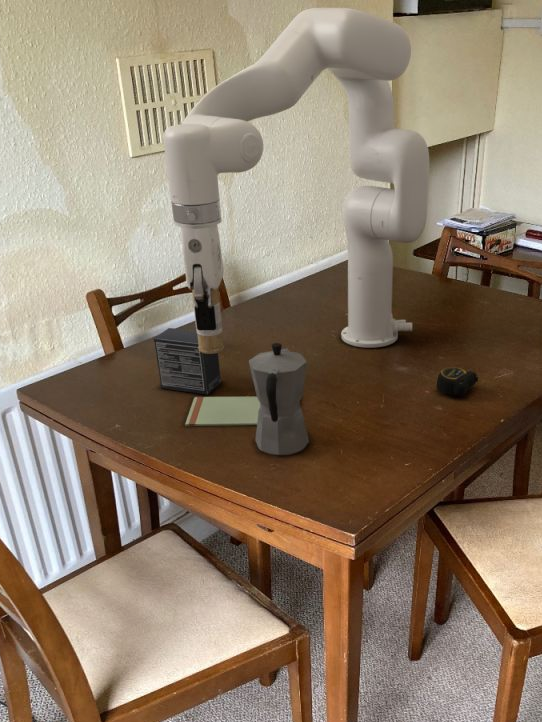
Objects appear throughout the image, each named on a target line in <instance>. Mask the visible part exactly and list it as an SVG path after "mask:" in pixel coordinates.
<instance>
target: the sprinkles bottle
mask: <svg viewBox="0 0 542 722" xmlns="http://www.w3.org/2000/svg"><path fill="white" fill-rule="evenodd" d="M192 282H193V279H192ZM203 288H208V285H207V284H203ZM191 292H192V300H193V303H192V305H193V312H194V323H196V316H195V308H194V307H195V305H194V292H193V290H191ZM203 293H204V295H206V296H207V292H203ZM211 295H212V306H214V309H215V319H216V329H215V330H197V325H196V324H195V329H196V330H195V331H197V336H198V344H199V346H198V349H199V351H200V352H202V353H206V354H214V353H218V354H219V353H221V352H222V351H224V349H225V345H224V338H223V337H224V336H223V321H222V312H221V302H220V297H219V287H218V288H217V289H216V290H214V289H213V288H211Z"/></svg>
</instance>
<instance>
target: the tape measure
mask: <svg viewBox="0 0 542 722" xmlns="http://www.w3.org/2000/svg"><path fill="white" fill-rule="evenodd" d="M478 382H479V377H478V376H477V373H476V372H475V371H472V370H469V371H468V370H466V369H464V368H461V367H455V366H451V367H450V366H449V367H445V368H442V369H441V370H440V371H439V372H438V373H437V376H436V388H437V390H438V391H439V392H441V393H442V394H444V395H449V396H457V397H463V396H464V395H465V394H466V393H467V392H468V391H469V390H470V389H471V388H472V387H474V386H475V384H476V383H478Z"/></svg>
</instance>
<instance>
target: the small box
mask: <svg viewBox="0 0 542 722" xmlns="http://www.w3.org/2000/svg"><path fill="white" fill-rule="evenodd" d="M153 342H154V347H155V348H154V349H155V354H156V362H157V368H158V375H159V382H160V389H162V390H164V389H165V390H171V391H176V392H177V391H178V392H185V393H191V394H192V393H193V394H200V395H205V396H206V395H207V396H208V395H209V394H211V392H212V391H213V390H215V389H216V388H217V387H218V386H220V385H221V383H222V380H221V379H222V378H221V369H220V360H219V352H218V353H214V354H206V353H202V352H200V351H199V349H198V346H199V344H198V336H197V330H192V329H181V328H173V327H167V329H165V330H164V331H162V332H160V333H159V334H157V335H155V336H154V337H153Z"/></svg>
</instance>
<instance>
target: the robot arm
mask: <svg viewBox="0 0 542 722" xmlns="http://www.w3.org/2000/svg"><path fill="white" fill-rule="evenodd" d="M411 47H412V46H411V41H410V38H409V36H408V34H407V31H406V30H405V29H404V27H402V26H401V25H400V24H398V23H396V22H394V21H391V20H388V19H385V18H382V17H379V16H376V15H374V14H371V13H368V12H366V11H363V10H360V9H355V8H350V7H312V8H307V9H304V10H302V11H300V12H299V13H297V14H296V16H295V17H293V19H292V20H291V21H290V22H289V24H288V25H287V26H286V27H285V28H284V30H283V31H282V32H281V33H280V34H279V35H278V37H276V39H275V40H274V41H273V43H271V45H270V46H269V47H268V48H267V50H266V51H265V52H264V53H263V54H262V55H261V57H259V59H258V60H257V61H256V62H254V63H253V64H251V65H249V66H247V67H246V68H243V69H242V70H240V71H237V73H235V74H234V75H232V76H230V77H229V78H227V79H225V80H223V81H221V82H220V83H218V84H217V85H215V86H214V87H212V88H211V89H210V90H208V91H207V92H205V94H204V95H203V96H202V97H201V98H200V99H199V100H198V102H196V104H195V105H194V106H193V108H191V110H190V111H189V112H188V113H187V115H186V116H185V118H184V120H183V122H182V123H181V124H174V125H171V126H168V127H167V128H166V129H165V130H164V132H163V137H162V138H163V147H164V156H165V163H166V171H167V172H166V173H167V178H168V185H169V186H168V187H169V195H170V204H171V212H172V218H173V225H174V226H176V227H179V228H180V233H181V246H182V256H183V266H184V273H185V280H186V286H187V288H188V289H189V290H191V291H192V290H193V292H194V302H193V303H194V305H195V307H194V306H193V309H194V308H195V314H194V317H195V316H196V322H195V326H196V325H197V330H215V329H216V319H215V309H214V306H212V295H211V288H213V289H214V290H216V289H217V288H218V289H219V288H220V285H221V283H222V280H223V277H224V275H225V274H224V273H225V270H224V269H225V268H224V263H223V254H222V248H221V239H220V232H219V226H218V225H219V224H220V223H222V221H223V220H222V210H221V209H222V208H221V199H220V188H219V177H218V175H219V174H225V173H226V174H227V173H228V174H230V173H231V174H232V173H233V174H234V173H244V172H245V173H246V172H248V171H250V170H251V169H253V168H254V167H256V166H257V165H258V163H259V162H260V160H261V159H262V156H263V152H264V140H263V136H262V134H261V132H260V131H259V129H258V128H257V127H256V126H255V125H254V124H252V123H251V122H250V121H252V120H256V119H259V118H264V117H268V116H272V115H277V114H279V113H282V112H284V111H287V110H289V109H291V108H293V107H294V106H295V105H296V104H297V103H298V101H300V99H301V98H302V97H303V96H304V94H305V93H306V92H307V91H308V89H309V88H310V87H311V86H312V84H313V83H314V82H315V81H316V79H317V78H318V77H319V76H320V75H321V73H322V72H324V70H326V69H327V70H329V71H330V73H331V74H332V75H334V77H336V79H337V80H338V82H339V83H340V85H341V87H342V88H343V90H344V93H345V96H346V99H347V104H348V126H349V128H348V129H349V131H348V132H349V133H348V134H349V136H348V138H349V139H348V140H349V141H348V142H349V165H350V169H351V171H352V173H353V174H354V175H355V176H357V177H358V178H360V179H361V178H362V179H364V180H369V181H374V182H381V183H388V184H393V188H389V187H382V186H376V185H360V186H357V187H354V188H353V189H351V190H350V191H349V192H348V193H347V195H346V196H345V198H344V201H343V205H342V220H343V225H344V229H345V230H344V231H345V236H346V243H347V326H346V327H344V328H343V329H342V330H341V332H340V337H341V340H342V342H344V343H346V344H348V345H349V346H352V347H356V348H364V349H371V348H372V349H374V348H375V349H376V348H382V347H387V346H389V345H390V346H391V345H392V344H394V343H395V342H396V341H397V340H398V338H399V332H413V322H407V319H396V318H394V317H393V313H392V311H393V310H392V309H393V279H394V278H393V277H394V255H393V250H392V247H391V245H390V242H395V243H401V244H412V243H414V242H416V241H417V240H418V239H420V238H421V236H422V234H423V233H424V230H425V228H426V224H427V218H428V204H429V181H430V152H429V151H430V150H429V148H428V144H427V142H426V139H425V138H424V137H423V135H421V134H420V133H419V132H417V131H414V130H412V129H411V130H410V129H402V128H396V126H395V117H394V116H395V114H394V112H395V111H394V110H395V109H394V95H393V91H392V88H391V85H390V83H389V81H395V80H396V79H398V78H400V77H401V76H402V75H404V73H405V72H406V70H407V68H408V66H409V64H410V61H411V55H412V50H411V49H412V48H411ZM389 241H390V242H389ZM192 279H193V282H192ZM203 284H207V285H208V288H203ZM203 292H207V296H206V295H204V293H203ZM197 330H196V331H197Z"/></svg>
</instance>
